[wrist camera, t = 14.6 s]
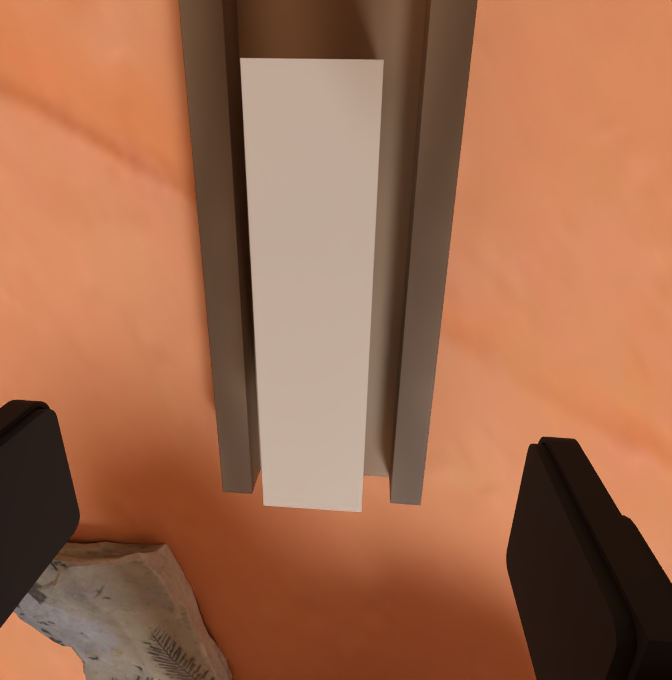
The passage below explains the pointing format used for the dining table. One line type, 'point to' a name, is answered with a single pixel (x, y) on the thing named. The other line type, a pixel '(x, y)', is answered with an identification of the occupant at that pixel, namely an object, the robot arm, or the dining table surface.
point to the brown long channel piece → (391, 212)
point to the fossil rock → (124, 613)
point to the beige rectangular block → (312, 269)
